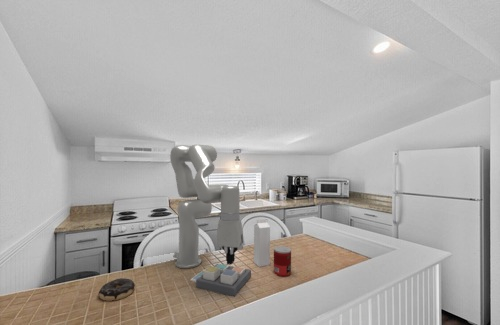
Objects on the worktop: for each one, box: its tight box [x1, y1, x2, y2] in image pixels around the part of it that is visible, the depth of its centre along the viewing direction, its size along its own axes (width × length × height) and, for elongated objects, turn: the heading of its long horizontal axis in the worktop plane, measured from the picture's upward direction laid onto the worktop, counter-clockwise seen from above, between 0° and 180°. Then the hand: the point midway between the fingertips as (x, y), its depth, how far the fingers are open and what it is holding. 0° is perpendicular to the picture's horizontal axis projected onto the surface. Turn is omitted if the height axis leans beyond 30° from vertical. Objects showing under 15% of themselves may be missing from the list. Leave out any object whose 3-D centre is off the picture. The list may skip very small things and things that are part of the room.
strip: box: [189, 268, 206, 283], centre depth 100 cm, size 4×11×1 cm, turn 158°
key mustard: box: [202, 265, 220, 281], centre depth 93 cm, size 5×5×4 cm
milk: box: [253, 219, 271, 268], centre depth 114 cm, size 6×6×22 cm
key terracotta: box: [232, 266, 246, 277], centre depth 98 cm, size 5×5×4 cm
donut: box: [98, 277, 136, 302], centre depth 86 cm, size 11×12×4 cm
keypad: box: [195, 263, 252, 298], centre depth 95 cm, size 17×17×3 cm
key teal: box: [216, 263, 230, 273], centre depth 100 cm, size 5×5×4 cm
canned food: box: [273, 245, 292, 277], centre depth 104 cm, size 8×8×11 cm
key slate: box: [221, 269, 238, 285], centre depth 90 cm, size 5×5×4 cm
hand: (230, 263), depth 90 cm, fingers closed
